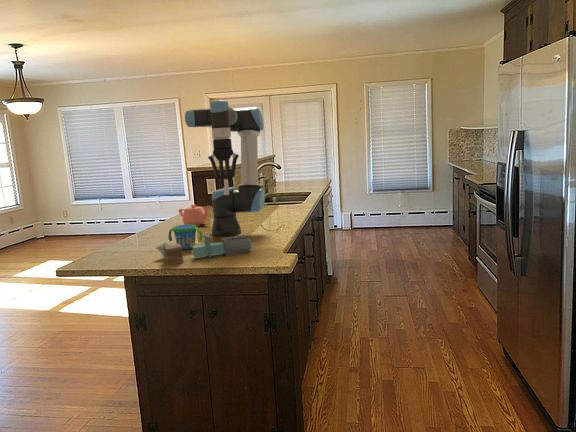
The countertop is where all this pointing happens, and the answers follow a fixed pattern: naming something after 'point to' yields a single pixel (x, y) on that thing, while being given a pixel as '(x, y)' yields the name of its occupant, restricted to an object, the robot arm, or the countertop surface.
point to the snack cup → (185, 235)
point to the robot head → (162, 248)
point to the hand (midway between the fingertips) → (226, 194)
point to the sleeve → (236, 245)
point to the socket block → (173, 254)
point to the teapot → (194, 215)
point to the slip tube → (211, 248)
